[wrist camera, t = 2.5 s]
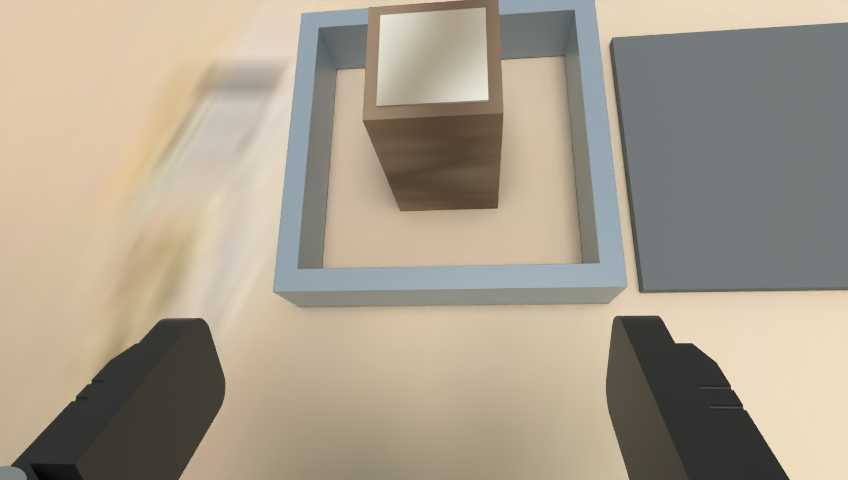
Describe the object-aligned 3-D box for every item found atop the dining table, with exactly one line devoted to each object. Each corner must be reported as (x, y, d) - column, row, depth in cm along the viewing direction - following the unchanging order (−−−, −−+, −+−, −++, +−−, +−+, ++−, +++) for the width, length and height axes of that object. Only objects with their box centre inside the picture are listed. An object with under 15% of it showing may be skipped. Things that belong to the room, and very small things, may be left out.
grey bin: (299, 306, 26) (272, 291, 23) (321, 56, 31) (301, 13, 28) (608, 303, 24) (627, 286, 21) (581, 39, 29) (593, -9, 26)
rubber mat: (640, 292, 24) (643, 289, 24) (609, 44, 29) (612, 37, 28) (969, 288, 23) (981, 285, 22) (884, 27, 27) (892, 19, 27)
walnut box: (400, 211, 27) (362, 118, 19) (403, 126, 29) (368, 5, 20) (497, 208, 27) (503, 111, 18) (494, 122, 28) (498, -5, 20)
